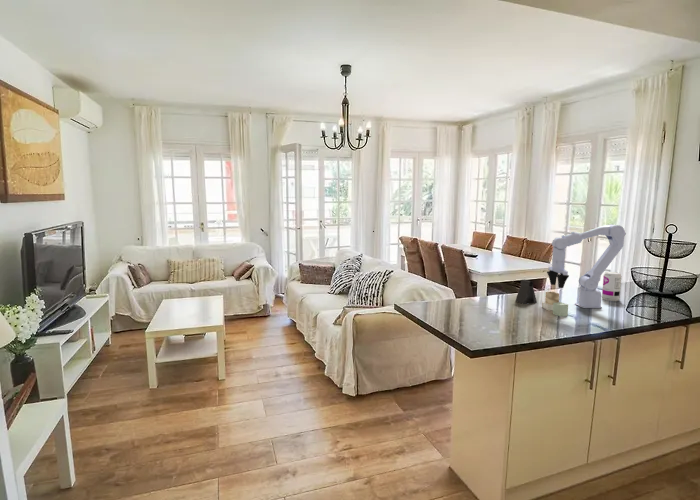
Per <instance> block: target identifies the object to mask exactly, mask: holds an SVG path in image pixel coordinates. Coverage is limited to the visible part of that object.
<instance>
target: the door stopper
mask: <svg viewBox="0 0 700 500" xmlns="http://www.w3.org/2000/svg"><path fill="white" fill-rule="evenodd" d="M514 301H515V302H516V301H518V302H517V303H519V302H520V303H519V304H522V303H523V305H528V304H527V303H530V304H537V303H538V301H537V297H536V293H535V289H534V281H531V280H529V279H521V280H520V287H519V288H518V292H517V295H516V298H515V300H514Z"/></svg>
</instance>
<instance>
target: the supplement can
mask: <svg viewBox="0 0 700 500" xmlns="http://www.w3.org/2000/svg"><path fill="white" fill-rule="evenodd" d="M621 286H622V274H621V273H620V272H615V271H604V274H603V279H602V291H601V299H602V300H605V301H607V302H608V301H609V302H618V301H620V300H621Z"/></svg>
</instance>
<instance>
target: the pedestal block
mask: <svg viewBox="0 0 700 500" xmlns="http://www.w3.org/2000/svg"><path fill="white" fill-rule="evenodd" d="M541 308H543V309H545V310H547V311H553V305H550V304H548V303H545V301H542V302H541Z"/></svg>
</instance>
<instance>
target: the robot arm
mask: <svg viewBox="0 0 700 500" xmlns="http://www.w3.org/2000/svg"><path fill="white" fill-rule="evenodd" d="M626 234H627V233H626V230H625V228H624V227H623V226H621V225H619V224H611V223H610V224H609V223H608V224H606V225H601V226H597V227H595V228H592V229H589V230H587V231H583V232H581V233H579V232H578V231H572V232H570V233H569V234H567V235H561V237H555V238H554V239H553V240H552V241H551V246H552V257H551V261H552V262H551V266H548V271H546V274H547V276H548V279H549V283H550V285H551V286H555V285H556V283H558V284H557V285H558V288H559V289H563V288H564V286H565V285H566V284H565V283H566V282H567V280H568V279H569V277H570V275H569V271H568V270H566V269H565V263H566V248H567V247H570V246H574V245H578V244H580V243H582V242H583V240H586V239H589V238H593V237H596V236H600V235H601V236H605V237H606V238H607V241H608V244H609V245H608V246H607V247H606V249H605V250H604V252H603V253H602V254H601V255H600V257H599V258H598V260H597V261H596V262H595V263H594V265H593V266H592V268H590V270H588V271H586V273H585V274H583V275H581V276H580V277H579V278H578V284H579V285H580V286H579V294H578V303H576V302H575V303H574V305H576V306H578V307H580V308H582V309H602V291H600V289H598V287H599V282H600V281H601V277H602V274H603V273H605V272H606V269H607V268H608V267H609V266H610V264H611V263H612V262H613V260H614V259H615V258H616V256H617V255H618V254H619V253H620V251H621V250H622V249H623V247H624V244H625V237H626Z"/></svg>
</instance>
